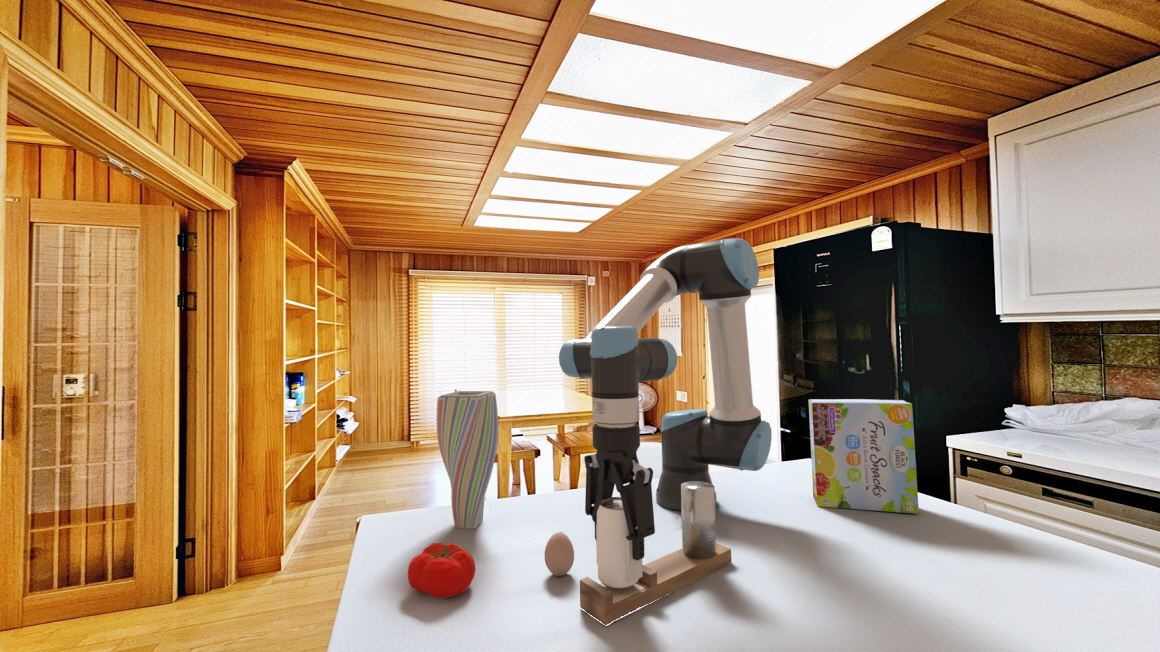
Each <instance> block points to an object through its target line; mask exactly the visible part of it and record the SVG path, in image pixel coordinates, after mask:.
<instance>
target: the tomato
mask: <svg viewBox="0 0 1160 652" xmlns="http://www.w3.org/2000/svg"><path fill="white" fill-rule="evenodd" d="M475 575H476V562H475V560H474V557H473V556H472V554H470V553H469V552H468V551H467V550H466V549H465V548H462V547H460V546H459V545H458V544H456V543H450V544H447V543H446V544H444V543H442V542H434V543H432V544H430V545H428V546H427V547H425V548H424V549H423V550H422V552H421V553H420V554H417V555H416V556H414V557H413V558H412V559H411V561H410V563H409V565H408V569H407V578H408V583H409V585H410V586H411V588H412V589H414V590H415V591H416V592H419V593H423V594H426V595H428V596H430V597H432V598H436V599H447V598H452V597H454V596H457V595H460V594H462V593H463V592H465V591H466V590H467V589H468V588H469V587H470V586H471V584H472V582H473V581H474V578H475Z"/></svg>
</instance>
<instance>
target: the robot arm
mask: <svg viewBox="0 0 1160 652" xmlns="http://www.w3.org/2000/svg"><path fill="white" fill-rule="evenodd" d="M759 276H760V271H759V263H758V260H757V256H756V254H755V252H754V250H753V248H752V246H751V244H750V243H749V242H748V241H747V240H745V239H743V238H740V237H736V238H735V237H734V238H723V239H717V240H711V241H706V242H705V241H704V242H701V243H694V244H686V245H681V246H678V247H676V248H673V249H671V250H669V251H668V252H666V253H664V254H663V255H662V256H660V257H659V258H657V259H655V260H654V261H653V262H652V263H651V264H650V265H648V266H647V268H646V269H645V270H643V272H642V273H641V274H640V277H639V281H638V282H637V284H635V286H634V287H633V288H631V290H629V292H628V293H627V294H626V295H624V296H623V298H622V299H621V300H620V301H619V302H618V303H617V304H616V305H615V306H614V307H613V308H612V309H611V310H610V311H609V312H608V313H607V314H606V315H605V316H604V317H603V318H602V319H601V320H600V321H599V322H598V323H597V324H596V325H595V326H594V327H593V328H592V329H591V330H590V331H589V332H588V333H587V334H586V335H585V336H584V337H583V338H581V339H580V338H575V339H570V340H567V341H565V342H564V343H563V344H562V346H561V347H560V350H559V354H558V363H559V366H560V369H561V371H562V372H563V373H564V374H565V376H568V377H572V378H579V379H582V380H586V379H588V380H589V379H590V380H591V389H592V390H591V398H592V399H591V406H592V407H591V409H592V410H591V411H592V413H591V415H592V421H593V422H594V423H595V424H594V425H592V433H591V434H592V447H593V449H595V450H596V453H593V454H592V453H591V454H588V455H585V456H584V459H583V460H584V464H585V471H586V473H585V498H584V499H585V500H584V501H585V503H584V504H585V505H584V506H585V507H584V512H585V515H586V516H590V517H591V518H592V521H593V523H594V539H595V541H596V545H595V546H596V548H597V511H598V508H599V506H600V504H599V502H600V501H601V500H607V499H608V498H610V497H613V493H614V489H616V492H618V494H619V495H620V496H619V497H621V500H622V504H623V509H624V513H625V518H626V522H627V527H628V531H629V535H628V536H626V537H625V541H626V581H628V582H632V581H635V580H637V579H639V578H641V577H643V573H642V565H643V559H644V558H645V555H646V554H645V538H647V537H650V536H653V535H655V533H656V527H655V517H654V501H653V489H652V487H653V486H652V482H653V476H654V470H653V469H652V467H647V468H646V467H644V466H642V465H641V464H640V462H639V458H638V455H637V451H638V449H639V448H640V446H641V435H640V433H641V432H640V431H641V427H640V426H639V423H638V422H639V421H640V398H639V397H640V395H639V386H640V385H639V383H642V382H650V381H651V382H652V381H655V382H657V381H660V380H663V379H666V378H668V377H670V376H671V375H672V374H673V373H674V372H675V370H676V368H677V365H678V354H677V351H676V348H675V347H674V345H673V344H672V343H671V342H670V341H668V340H666V339H663V338H658V337H646V338H645V337H643V338H638V337H639V336H638V333H639V332H640V331H642V329H643V328H644V327H645V325H646V324H647V323H648V322H649V321H650V320H651V318H652V317H653V316H654V315H655V314H656V313H657V312H658V311H659V310H660V308H661V307H662V306H663V305H664V304H668V303H670V302H671V301H673V300H674V299H675V298H676V297H677V296H681V295H685V294H697V293H698V299H699V302H700V303H701V304H702V305H704V307H705V308H706V316H707V317H706V318H707V327H708V338H709V339H708V340H709V351H710V360H711V361H710V362H711V372H712V382H713V383H712V384H713V395H714V407H713V408H712V409H711V410H710V411H709V413H708V410H707V409H702V408H696V409H694V408H691V409H683V410H677V411H671V412H667V413H665V414H663V415H662V417H661V423H660V424H661V427H660V433H661V437H660V438H661V463H662V465H661V474H660V477H659V481H658V485H657V488H656V492H655V501H656V503H657V504H658V505H659V506H662V507H663V508H666V509H669V510H673V511H679V512H682V507H681V484H682V483H684V482H689V481H700V482H706V483H710V484H712V485H714V484H713V482H712V481H713V480H712V478H711V475H710V470H709V465H710V466H711V465H712V466H718V467H723V468H729V469H734V470H739V471H748V472H749V471H751V472H757V471H760V470H761V469H762V468H763V467H764V466H765V464H766V463H767V460H768V457H769V454H770V451H771V445H772V428H771V424H770V423H769V421H766V420H762V415H761V413H762V412H761V410H760V409H758V408H757V407H756V406H755V405H754V402H753V401H754V400H753V399H754V397H753V387H752V377H751V375H752V374H751V362H750V353H749V351H750V350H749V349H750V348H749V339H748V328H747V317H746V316H747V314H746V303H747V302H748V301H749V300H750V298H751V297H752V291H751V290H752V289H755V288H756V287H757V286H758V284H759V280H760V279H759ZM708 415H709V416H708ZM717 502H718V501H717V492H716V491H715V507H716V506H717ZM636 527H637V529H636ZM596 565H597V566H598V556H597V555H596Z"/></svg>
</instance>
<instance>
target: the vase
mask: <svg viewBox="0 0 1160 652" xmlns="http://www.w3.org/2000/svg"><path fill="white" fill-rule="evenodd" d="M435 419H436V437H437V443H438V449H439V451H440V452H439V454H440V455H441V458H442V461H443V462H442V463H443V465H444V468H445V470H446V473H447V476H448V479H449V482H450V488H451V492H450V493H451V494H450V495H451V496H450V497H451V510H452V511H451V512H452V516H453V517H452V518H453V525H454V526H453V527H454V528H457V527H458V528H460V529H461V528H462V529H476V528H477V527H478V526H479V524H481V523H482V522H483V520H484V509H485V508H484V507H485V496H486V493H487V489H488V486H489V483H490V481H491V477H492V473H493V469H494V465H495V461H496V455H497V450H498V442H499V413H498V402H497V395H496V392H495V391H493V390H457V391H453V392H449V393H444V394H441V395H440V396H438V397H437V401H436V418H435Z"/></svg>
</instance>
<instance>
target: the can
mask: <svg viewBox="0 0 1160 652" xmlns="http://www.w3.org/2000/svg"><path fill="white" fill-rule="evenodd" d="M599 504H600V506H599V508H598V511H597V547H596V557H597V556H598V565H597V578H598V580H599V581H600V584H603V585H605V586H607V587H610V588H614V589H624V588H629V587H631V586H633V585H634V584H636V582H637V581H638V579H637V580H635V581H632V582H628V581H626V541H625V537H626V536H628V535H629V531H628V527H627V522H626V518H625V513H624V509H623V504H622V500H621V496H612V497H610V498H608V499H607V500H601V501H600V502H599ZM636 529H637V527H636Z"/></svg>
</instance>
